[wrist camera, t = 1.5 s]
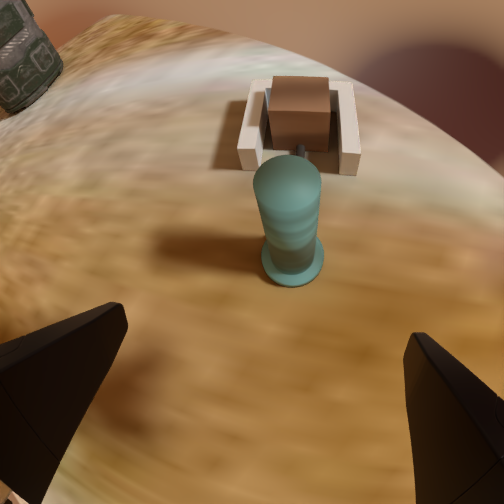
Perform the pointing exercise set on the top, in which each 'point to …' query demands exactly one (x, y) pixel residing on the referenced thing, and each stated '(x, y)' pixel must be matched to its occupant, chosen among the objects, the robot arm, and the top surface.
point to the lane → (258, 114)
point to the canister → (24, 57)
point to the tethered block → (293, 180)
